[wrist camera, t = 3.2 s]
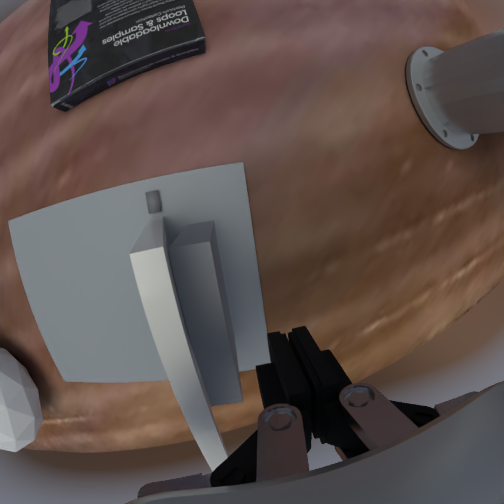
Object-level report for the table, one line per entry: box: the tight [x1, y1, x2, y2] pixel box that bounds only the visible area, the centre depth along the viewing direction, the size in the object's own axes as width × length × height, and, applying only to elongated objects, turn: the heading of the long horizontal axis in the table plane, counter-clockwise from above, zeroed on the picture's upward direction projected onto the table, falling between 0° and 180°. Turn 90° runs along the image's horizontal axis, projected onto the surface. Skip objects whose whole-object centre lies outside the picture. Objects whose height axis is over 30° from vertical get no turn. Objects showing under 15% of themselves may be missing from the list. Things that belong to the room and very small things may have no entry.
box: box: [48, 0, 206, 112], centre depth 14 cm, size 14×4×20 cm
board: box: [8, 162, 271, 406], centre depth 18 cm, size 23×18×9 cm
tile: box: [130, 216, 228, 472], centre depth 15 cm, size 13×12×1 cm
